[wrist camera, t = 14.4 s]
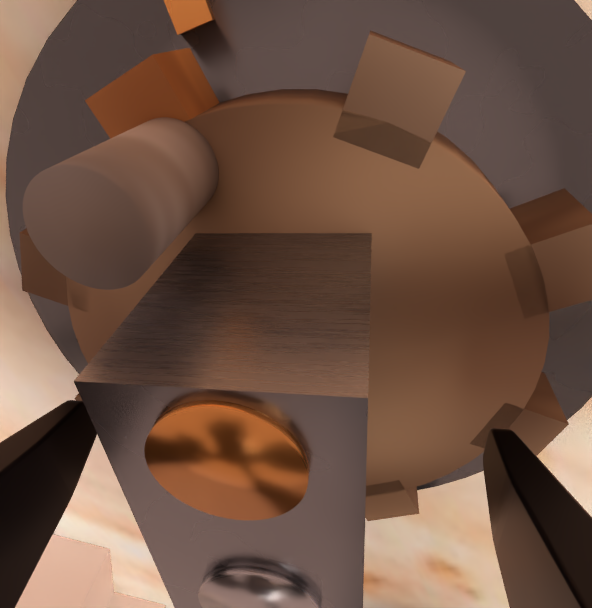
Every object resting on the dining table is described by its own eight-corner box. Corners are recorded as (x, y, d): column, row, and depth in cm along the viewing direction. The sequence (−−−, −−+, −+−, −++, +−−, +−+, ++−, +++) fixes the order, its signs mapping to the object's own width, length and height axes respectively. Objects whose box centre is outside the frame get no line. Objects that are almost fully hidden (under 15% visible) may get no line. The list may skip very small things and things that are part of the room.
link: (366, 449, 13) (361, 655, 9) (237, 439, 14) (175, 628, 10) (371, 232, 10) (368, 410, 5) (195, 233, 10) (64, 391, 6)
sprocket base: (320, 541, 21) (319, 549, 21) (-63, 294, 16) (-72, 300, 16) (806, 316, 12) (819, 324, 11) (255, -441, 7) (249, -463, 6)
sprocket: (617, 424, 14) (729, 618, 10) (228, 497, 19) (183, 643, 15) (489, -150, 8) (648, -378, 3) (-36, 195, 13) (-251, 291, 9)
